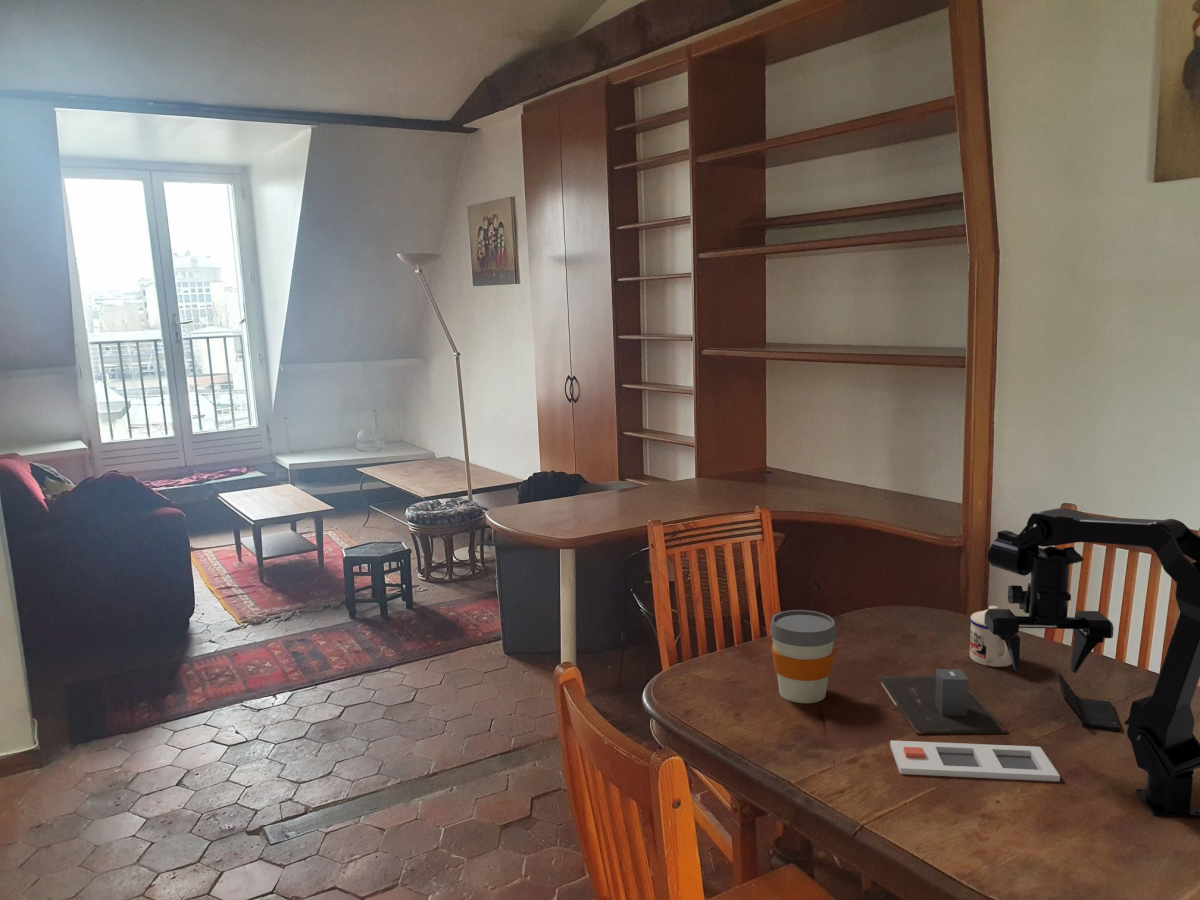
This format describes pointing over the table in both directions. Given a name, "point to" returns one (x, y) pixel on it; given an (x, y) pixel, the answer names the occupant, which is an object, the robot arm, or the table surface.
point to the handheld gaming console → (1090, 710)
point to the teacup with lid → (987, 643)
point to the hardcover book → (924, 715)
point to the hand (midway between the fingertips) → (1044, 671)
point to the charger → (951, 692)
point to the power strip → (973, 760)
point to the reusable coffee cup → (802, 654)
